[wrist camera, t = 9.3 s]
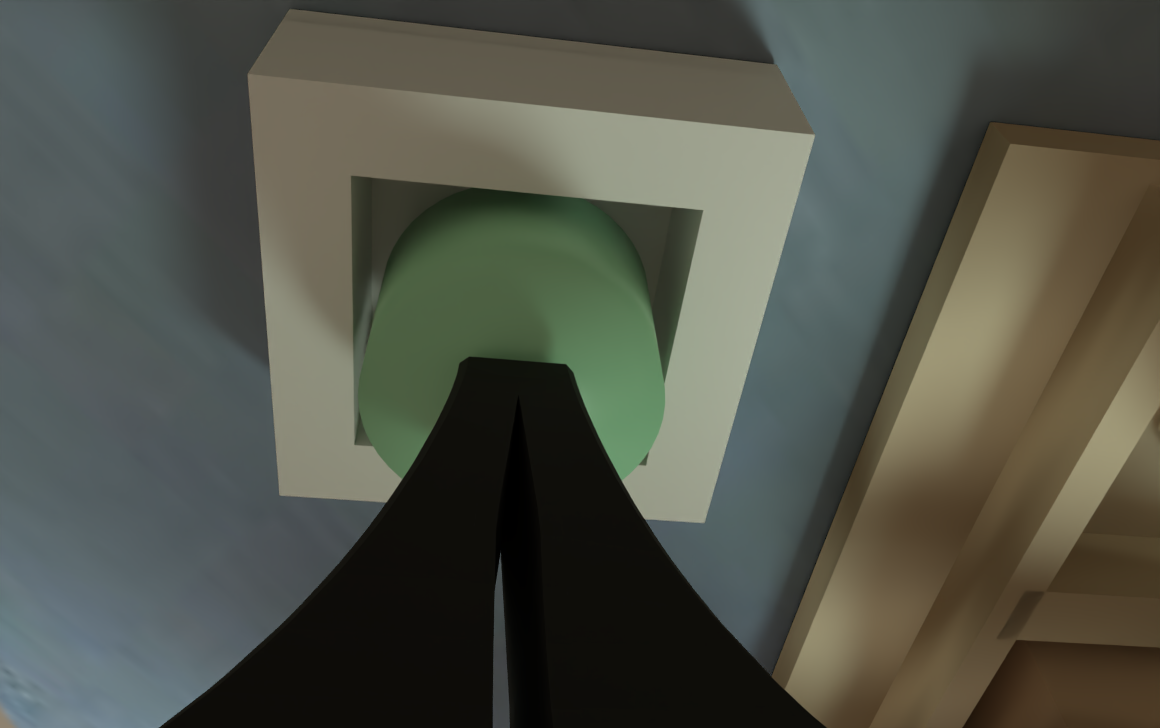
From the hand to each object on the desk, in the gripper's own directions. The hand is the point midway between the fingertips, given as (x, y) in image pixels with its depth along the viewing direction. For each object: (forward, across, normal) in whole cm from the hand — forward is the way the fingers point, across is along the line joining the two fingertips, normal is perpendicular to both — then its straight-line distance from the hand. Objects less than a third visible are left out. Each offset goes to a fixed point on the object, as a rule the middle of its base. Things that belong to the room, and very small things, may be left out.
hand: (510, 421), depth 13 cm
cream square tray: (+4, 0, 0) cm, 4 cm away
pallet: (+4, -14, +6) cm, 15 cm away
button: (+3, 0, 0) cm, 3 cm away
